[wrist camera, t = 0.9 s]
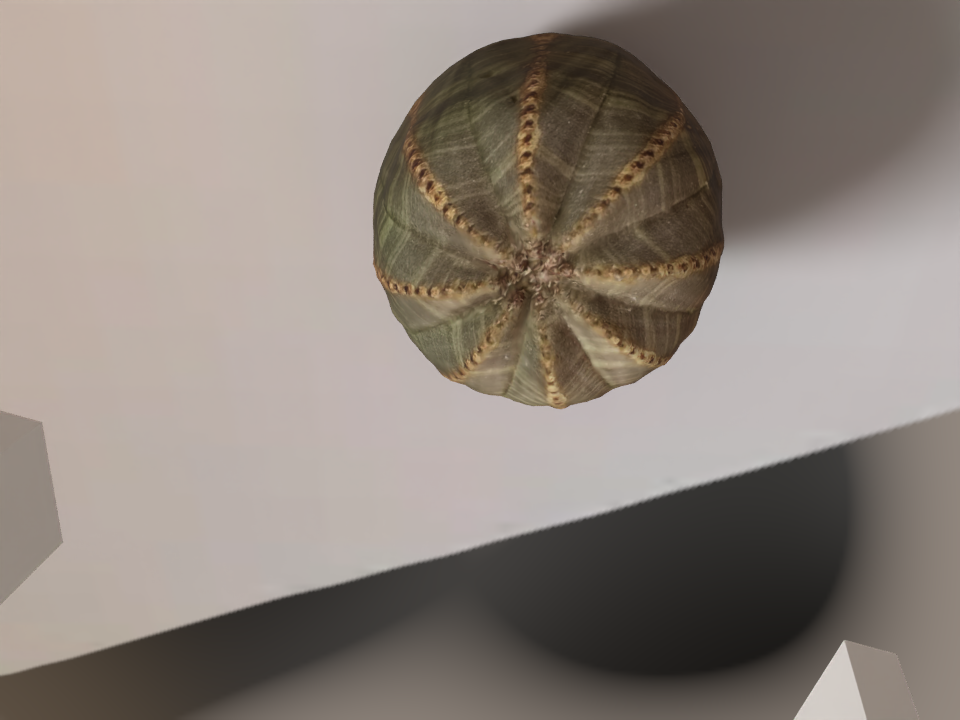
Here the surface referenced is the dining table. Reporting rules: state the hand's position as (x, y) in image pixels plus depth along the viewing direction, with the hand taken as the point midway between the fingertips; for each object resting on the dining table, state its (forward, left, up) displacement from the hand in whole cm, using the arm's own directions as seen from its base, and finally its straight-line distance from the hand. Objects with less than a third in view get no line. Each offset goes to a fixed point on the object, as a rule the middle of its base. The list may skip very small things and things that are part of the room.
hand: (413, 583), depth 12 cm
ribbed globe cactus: (-1, +1, -21) cm, 21 cm away
